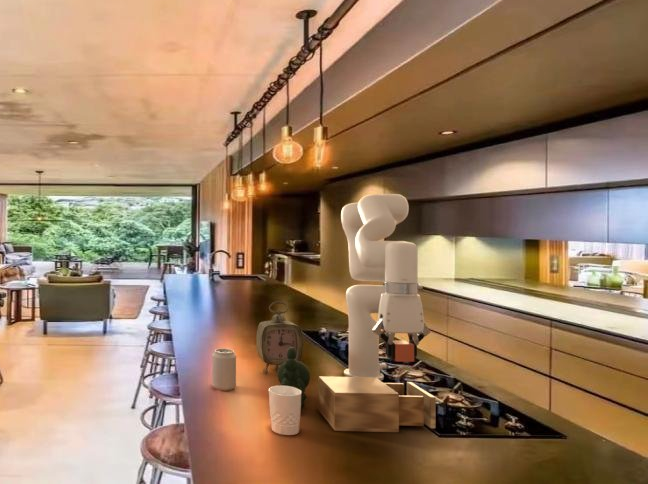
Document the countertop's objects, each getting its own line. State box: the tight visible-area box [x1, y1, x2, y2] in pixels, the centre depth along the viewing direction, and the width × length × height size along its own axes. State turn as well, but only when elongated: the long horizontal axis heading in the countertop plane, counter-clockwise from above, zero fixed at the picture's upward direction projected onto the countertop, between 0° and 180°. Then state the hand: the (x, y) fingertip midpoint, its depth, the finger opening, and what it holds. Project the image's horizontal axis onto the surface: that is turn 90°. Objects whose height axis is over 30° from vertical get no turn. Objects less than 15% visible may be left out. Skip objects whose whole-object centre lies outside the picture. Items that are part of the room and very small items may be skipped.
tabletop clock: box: [255, 301, 304, 375], centre depth 171 cm, size 14×9×25 cm, turn 91°
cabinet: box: [318, 375, 400, 433], centre depth 126 cm, size 16×14×10 cm
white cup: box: [268, 384, 302, 436], centre depth 120 cm, size 8×8×10 cm
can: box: [211, 348, 237, 392], centre depth 153 cm, size 8×8×12 cm
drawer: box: [383, 381, 447, 429], centre depth 125 cm, size 19×12×8 cm, turn 87°
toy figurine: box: [277, 347, 311, 410], centre depth 140 cm, size 9×19×25 cm
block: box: [393, 340, 415, 363], centre depth 125 cm, size 4×4×4 cm
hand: (401, 358), depth 125 cm, fingers closed on block, 4 cm apart
